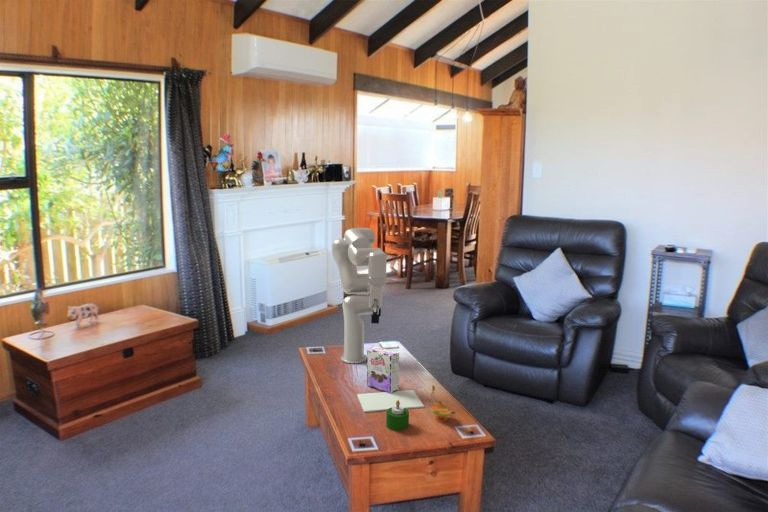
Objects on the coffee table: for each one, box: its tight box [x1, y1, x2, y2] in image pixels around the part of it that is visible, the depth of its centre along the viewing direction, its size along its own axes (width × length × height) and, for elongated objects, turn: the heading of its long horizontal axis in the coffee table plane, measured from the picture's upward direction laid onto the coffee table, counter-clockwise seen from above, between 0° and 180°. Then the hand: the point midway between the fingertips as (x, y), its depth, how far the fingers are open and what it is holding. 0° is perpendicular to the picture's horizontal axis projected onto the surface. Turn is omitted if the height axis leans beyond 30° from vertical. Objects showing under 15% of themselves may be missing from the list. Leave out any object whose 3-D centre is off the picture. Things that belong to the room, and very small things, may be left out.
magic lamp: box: [430, 384, 457, 423], centre depth 219 cm, size 7×18×11 cm, turn 24°
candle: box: [385, 400, 410, 432], centre depth 214 cm, size 8×8×10 cm
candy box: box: [366, 346, 400, 393], centre depth 247 cm, size 14×6×16 cm, turn 47°
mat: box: [356, 389, 425, 413], centre depth 236 cm, size 16×24×1 cm, turn 103°
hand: (376, 319), depth 250 cm, fingers open, 9 cm apart
